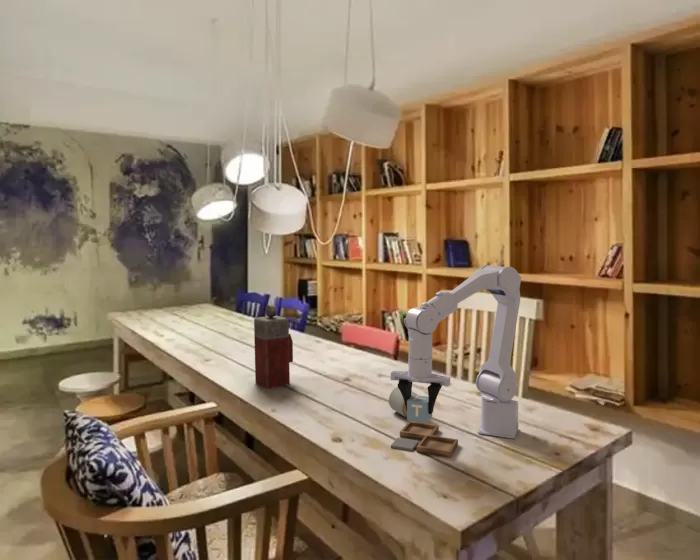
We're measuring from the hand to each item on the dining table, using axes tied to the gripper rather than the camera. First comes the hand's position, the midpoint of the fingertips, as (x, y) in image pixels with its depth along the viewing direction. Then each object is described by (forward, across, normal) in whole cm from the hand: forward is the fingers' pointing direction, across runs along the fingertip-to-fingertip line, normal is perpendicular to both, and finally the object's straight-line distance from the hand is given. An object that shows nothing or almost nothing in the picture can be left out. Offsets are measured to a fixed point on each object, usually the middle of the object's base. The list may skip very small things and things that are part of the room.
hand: (419, 411), depth 132 cm
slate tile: (+9, -4, 0) cm, 10 cm away
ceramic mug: (+9, -9, +22) cm, 26 cm away
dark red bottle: (+9, -62, +34) cm, 72 cm away
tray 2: (+9, +4, +1) cm, 10 cm away
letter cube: (+2, 0, 0) cm, 2 cm away
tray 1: (+9, -2, +8) cm, 13 cm away
